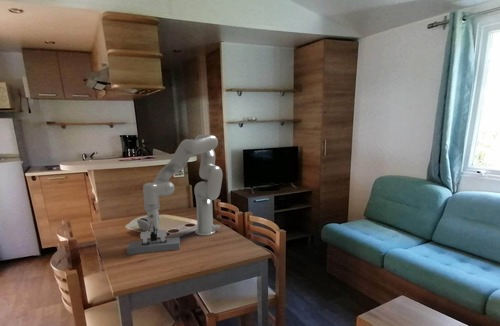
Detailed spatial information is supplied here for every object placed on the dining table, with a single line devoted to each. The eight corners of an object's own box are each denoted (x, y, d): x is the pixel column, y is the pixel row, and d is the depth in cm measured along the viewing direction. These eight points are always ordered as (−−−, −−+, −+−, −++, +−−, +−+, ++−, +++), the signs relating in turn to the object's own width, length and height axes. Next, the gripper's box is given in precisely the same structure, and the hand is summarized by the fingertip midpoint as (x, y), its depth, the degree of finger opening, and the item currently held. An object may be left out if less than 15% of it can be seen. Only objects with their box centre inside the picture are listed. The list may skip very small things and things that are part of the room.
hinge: (162, 232, 171) (156, 219, 167) (156, 237, 168) (150, 224, 164) (146, 226, 181) (141, 214, 177) (140, 231, 178) (134, 218, 174)
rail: (179, 243, 155) (179, 237, 154) (179, 249, 147) (179, 243, 147) (130, 248, 149) (130, 242, 149) (127, 255, 142) (126, 248, 141)
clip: (167, 244, 151) (166, 229, 150) (167, 247, 148) (166, 231, 147) (142, 247, 148) (141, 232, 147) (141, 249, 145) (140, 234, 144)
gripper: (157, 210, 138) (160, 245, 141) (161, 201, 154) (162, 233, 156) (142, 211, 136) (144, 246, 139) (146, 202, 152) (149, 234, 155)
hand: (154, 239), depth 148 cm, fingers closed on clip, 2 cm apart
